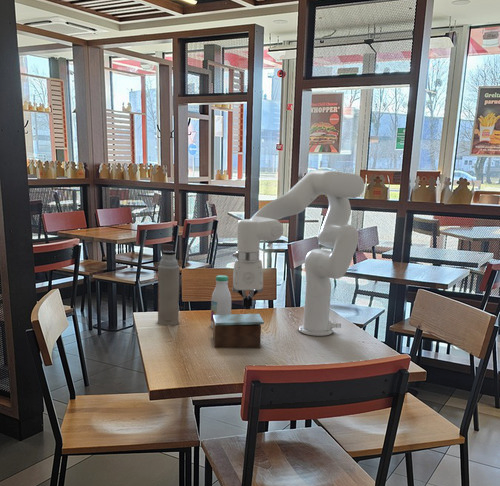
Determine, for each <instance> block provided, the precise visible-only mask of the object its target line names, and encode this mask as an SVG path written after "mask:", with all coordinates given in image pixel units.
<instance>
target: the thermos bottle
mask: <svg viewBox="0 0 500 486" xmlns="http://www.w3.org/2000/svg"><path fill="white" fill-rule="evenodd" d="M176 254H177V253H176V251H173V250H164V251H162V258H161V259H160V260H159V265H158V267H157V272H158V273H157V274H158V275H157V324H158V325H160V326H170V327H171V326H177V325H179V321H180V317H179V316H180V305H179V303H180V302H179V301H180V265H179V262H178V260H177V258H176Z"/></svg>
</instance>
